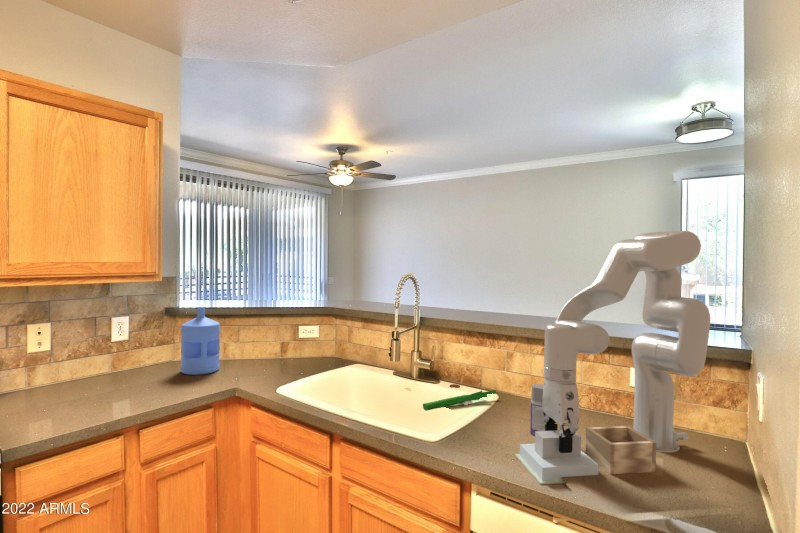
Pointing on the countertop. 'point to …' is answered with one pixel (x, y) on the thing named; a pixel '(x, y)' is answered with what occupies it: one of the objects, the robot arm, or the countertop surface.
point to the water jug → (200, 345)
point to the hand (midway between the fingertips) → (557, 445)
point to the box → (620, 449)
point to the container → (537, 409)
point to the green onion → (456, 400)
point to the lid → (557, 457)
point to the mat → (537, 475)
